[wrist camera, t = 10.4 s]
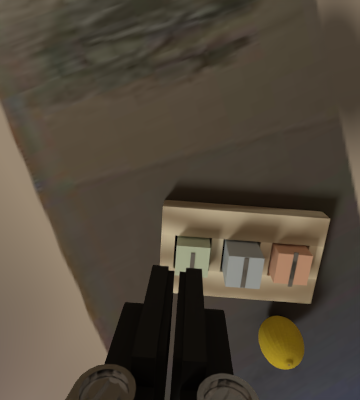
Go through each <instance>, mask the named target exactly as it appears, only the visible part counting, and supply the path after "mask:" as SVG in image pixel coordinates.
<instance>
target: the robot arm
mask: <svg viewBox="0 0 360 400" xmlns="http://www.w3.org/2000/svg"><path fill="white" fill-rule="evenodd" d="M174 273H175V271H169V266H159V265H153V267H152V271H151V275H150V279H149V284H148V288H147V292H146V296H145V301H144V304H142V303H129V302H126V303H125V304H124V306H123V309H122V312H121V316H120V319H119V322H118V325H117V328H116V331H115V334H114V337H113V340H112V343H111V346H110V349H109V352H108V355H107V358H106V361H105V364H104V365H98V366H96V367H94V368H91V369H89V370H88V371H86V372H85V373H84V374H82V375H81V376H80V377H79V379H78V380H77V381H76V382H75V384H74V386H73V388H72V389H71V391H70V393H69V394H68V396H67V398H66V399H65V400H164V397H165V387H166V376H167V365H168V355H169V344H170V331H171V317H172V302H173V288H174ZM170 400H259V398H258V396H257V394H256V393H255V391H254V389H253V388H252V387H251V386H250V385H249V384H248V383H247V382H245V381H244V380H242V379H241V378H239V377H237V376H234V375H233V368H232V362H231V355H230V348H229V341H228V334H227V327H226V320H225V314H224V311H223V310H216V309H204V296H203V277H202V269H197V268H186V272H181V271H180V274H179V287H178V301H177V314H176V327H175V340H174V354H173V367H172V380H171V394H170Z"/></svg>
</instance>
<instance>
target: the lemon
mask: <svg viewBox="0 0 360 400" xmlns="http://www.w3.org/2000/svg"><path fill="white" fill-rule="evenodd" d="M259 344H260V347H261V350H262V352H263V354H264V356H265V357H266V358H267V360H268V361H269V362H270V363H271V364H272V365H273V366H275V367H277V368H280V369H291V368H294V367H296V366H297V365H298V364H299V363H300V362H301V360H302V358H303V355H304V343H303V338H302V336H301V333H300V331H299V329H298V328H297V327H296V325H295V324H294V323H293V322H292V321H290V320H289V319H287V318H285V317H283V316H272V317H269V318H267V319H266V320H265V321H264V322H263V323H262V324H261V326H260V329H259Z"/></svg>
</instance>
